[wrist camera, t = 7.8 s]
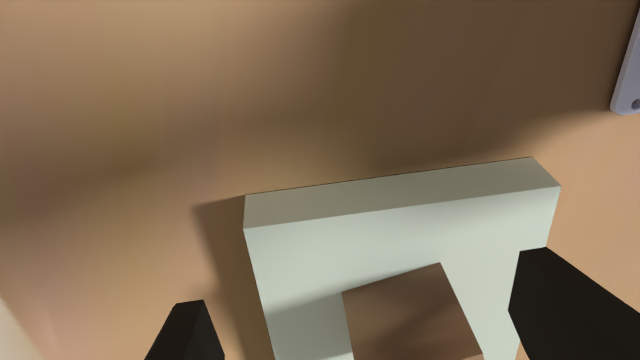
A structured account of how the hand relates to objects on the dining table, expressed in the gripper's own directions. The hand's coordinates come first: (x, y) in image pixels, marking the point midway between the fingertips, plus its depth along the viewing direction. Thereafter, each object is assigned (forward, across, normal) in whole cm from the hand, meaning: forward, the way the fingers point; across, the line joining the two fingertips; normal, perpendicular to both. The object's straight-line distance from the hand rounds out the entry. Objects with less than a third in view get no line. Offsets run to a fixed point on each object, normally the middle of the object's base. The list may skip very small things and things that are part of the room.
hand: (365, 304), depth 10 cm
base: (+10, -3, +11) cm, 15 cm away
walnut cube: (+8, -3, +10) cm, 13 cm away
